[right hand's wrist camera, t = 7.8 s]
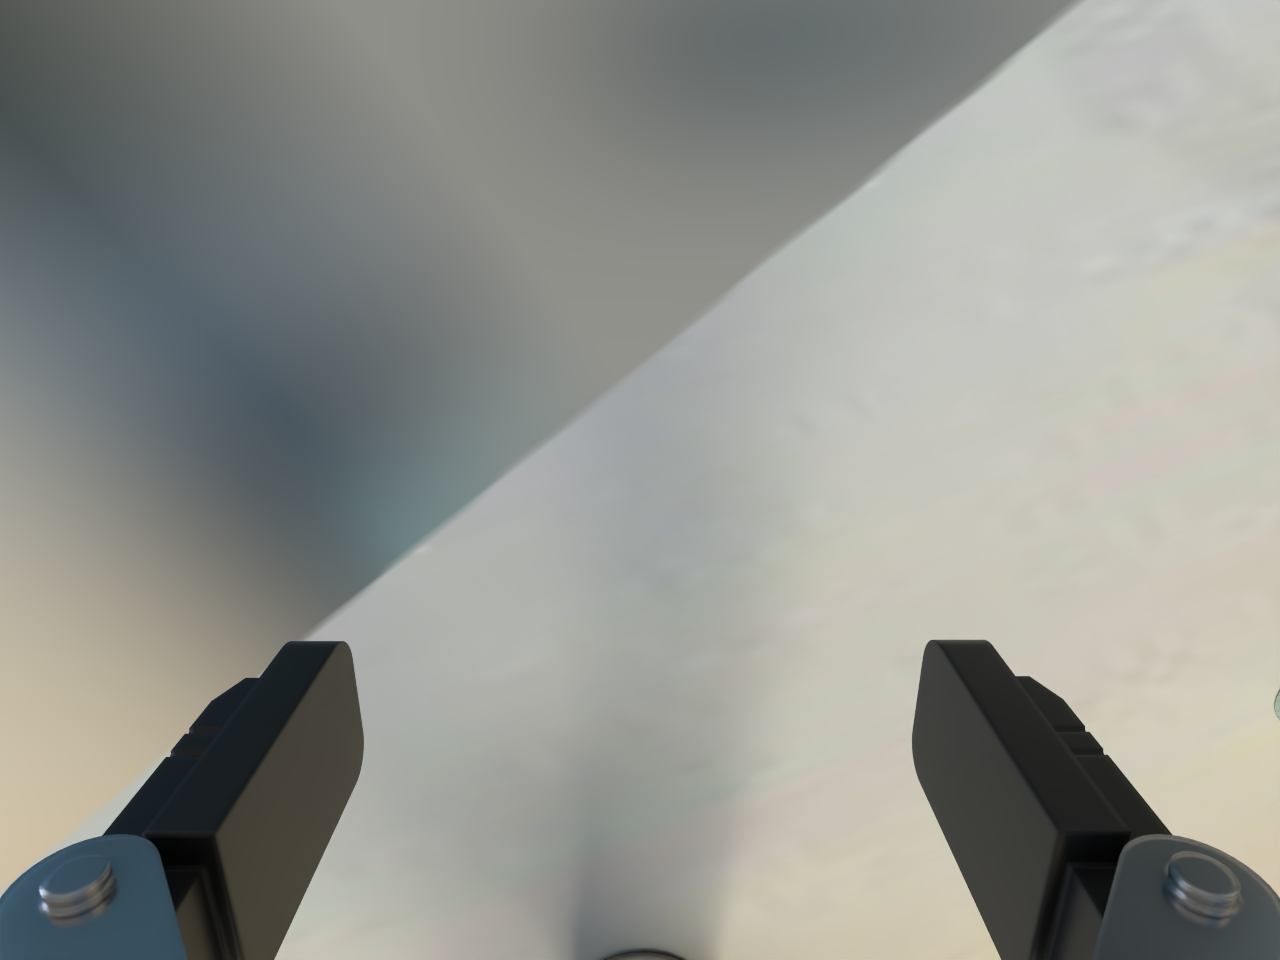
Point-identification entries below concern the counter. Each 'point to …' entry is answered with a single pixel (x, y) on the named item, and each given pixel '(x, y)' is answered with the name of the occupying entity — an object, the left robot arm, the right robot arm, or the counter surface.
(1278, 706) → the pale green cylinder
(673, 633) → the counter surface
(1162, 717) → the counter surface
